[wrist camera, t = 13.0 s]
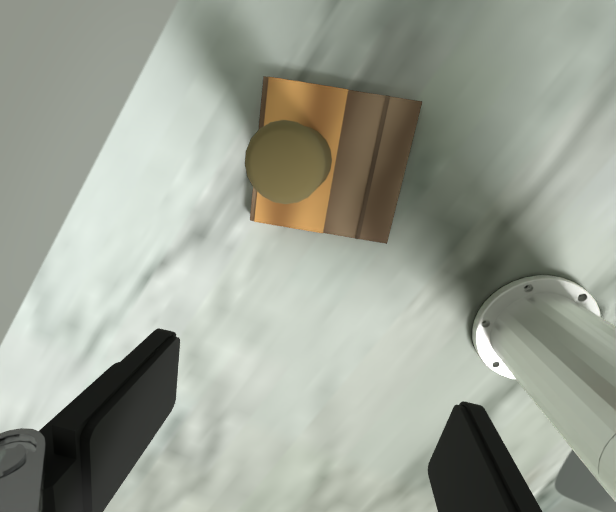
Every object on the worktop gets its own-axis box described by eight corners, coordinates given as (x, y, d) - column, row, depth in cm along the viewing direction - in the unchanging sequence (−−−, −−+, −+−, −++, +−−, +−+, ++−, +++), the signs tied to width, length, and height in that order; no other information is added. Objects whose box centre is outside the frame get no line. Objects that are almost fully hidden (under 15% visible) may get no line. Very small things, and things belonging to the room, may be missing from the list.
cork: (332, 124, 28) (332, 108, 17) (331, 193, 30) (330, 215, 19) (266, 125, 28) (227, 109, 18) (269, 192, 30) (235, 214, 20)
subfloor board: (417, 104, 28) (422, 101, 27) (384, 239, 32) (387, 244, 31) (267, 80, 28) (263, 75, 27) (253, 217, 33) (249, 220, 31)
